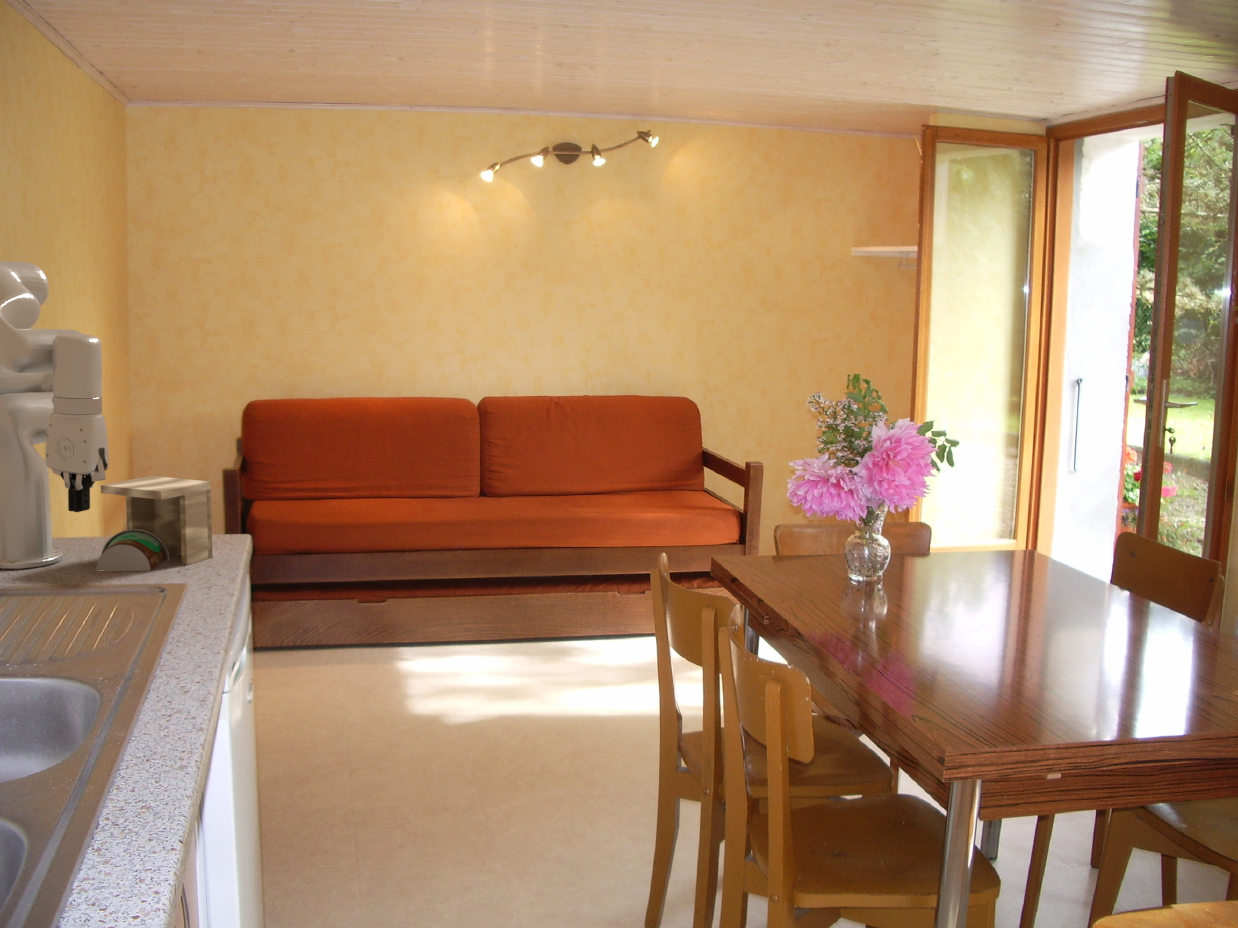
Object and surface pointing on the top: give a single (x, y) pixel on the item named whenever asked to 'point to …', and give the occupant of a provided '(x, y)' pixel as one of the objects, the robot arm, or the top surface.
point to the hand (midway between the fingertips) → (79, 510)
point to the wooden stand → (170, 513)
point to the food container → (132, 552)
